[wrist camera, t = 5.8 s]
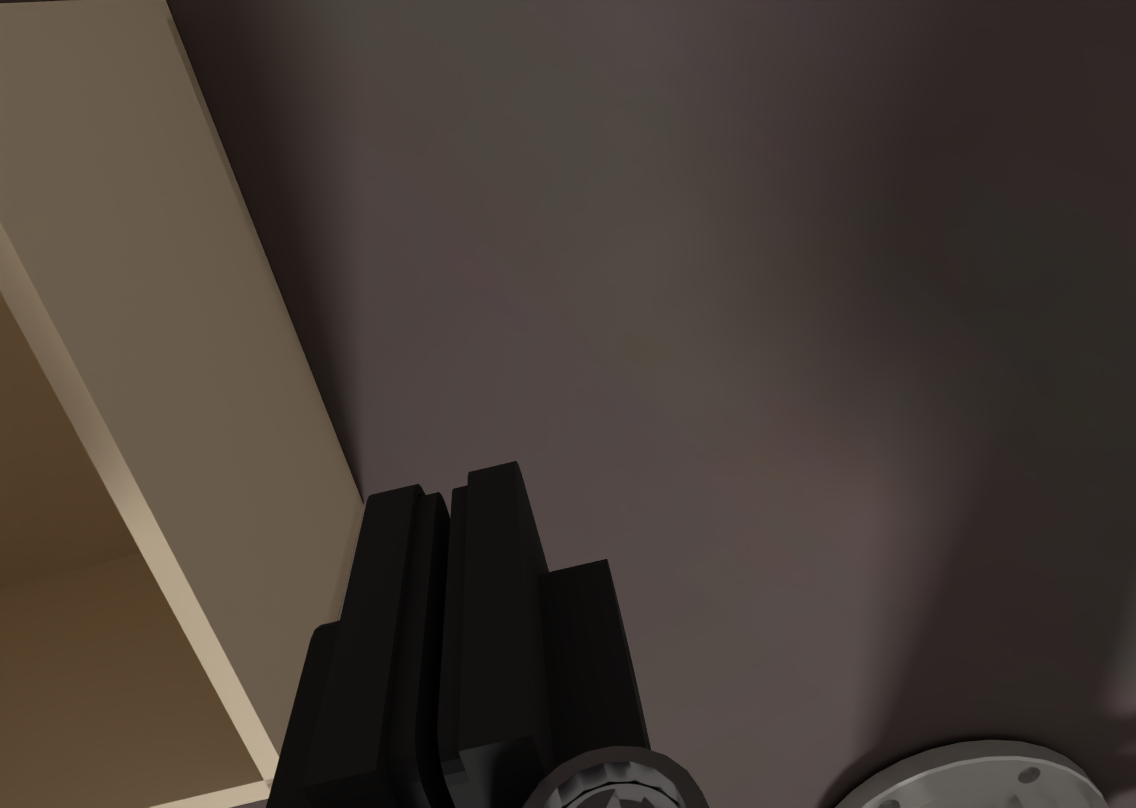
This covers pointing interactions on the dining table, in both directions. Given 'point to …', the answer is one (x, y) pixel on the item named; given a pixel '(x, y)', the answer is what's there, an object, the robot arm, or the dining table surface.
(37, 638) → the carton
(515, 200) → the dining table surface
